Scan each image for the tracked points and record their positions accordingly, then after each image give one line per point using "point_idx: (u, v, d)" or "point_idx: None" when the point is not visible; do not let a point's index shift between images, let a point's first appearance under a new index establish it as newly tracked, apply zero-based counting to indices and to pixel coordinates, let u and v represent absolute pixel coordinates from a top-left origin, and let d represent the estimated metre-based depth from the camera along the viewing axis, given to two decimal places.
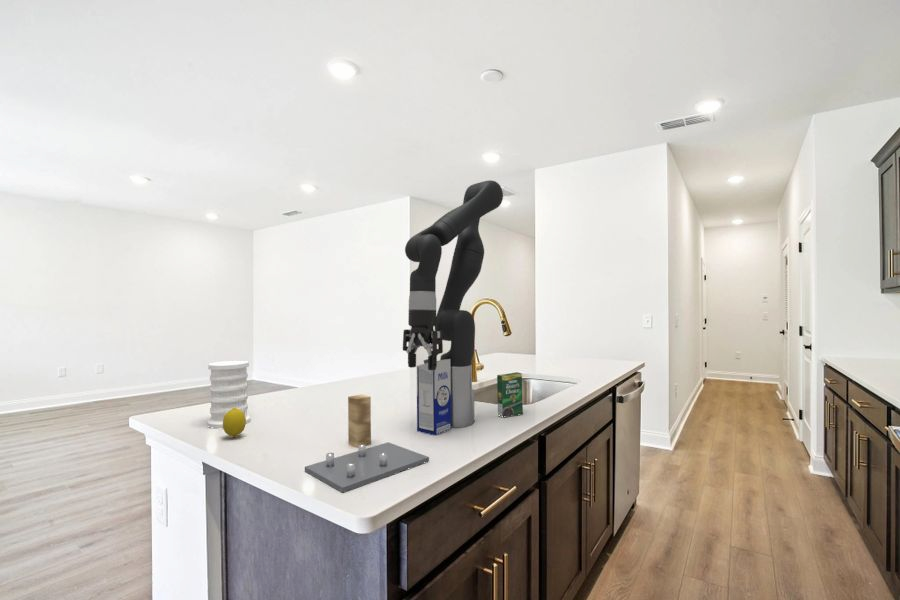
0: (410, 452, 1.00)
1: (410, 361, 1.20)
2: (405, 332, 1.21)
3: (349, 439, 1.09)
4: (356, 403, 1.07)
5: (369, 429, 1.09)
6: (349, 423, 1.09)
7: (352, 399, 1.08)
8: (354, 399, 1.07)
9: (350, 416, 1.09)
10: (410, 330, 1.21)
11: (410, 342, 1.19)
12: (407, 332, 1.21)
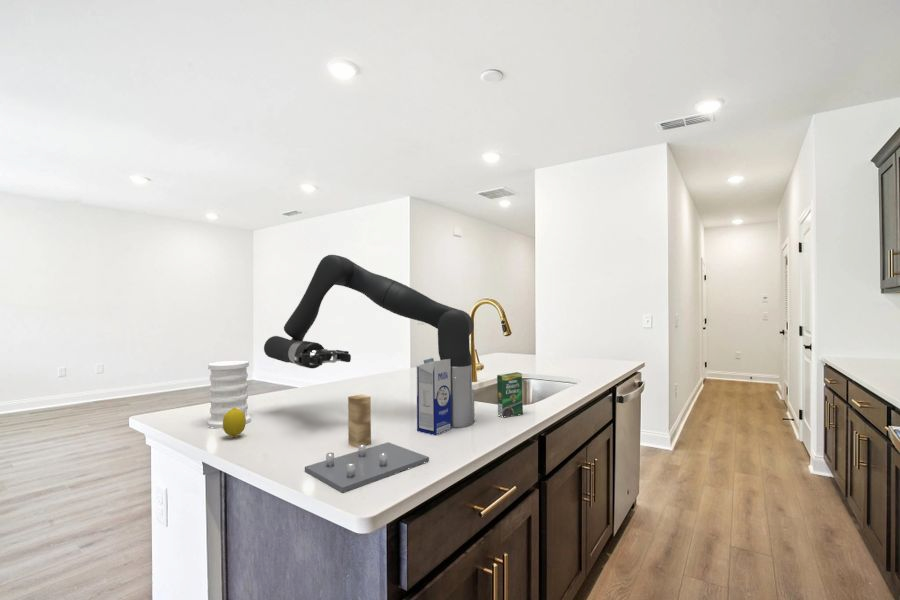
0: (410, 452, 1.00)
1: (345, 360, 1.21)
2: None
3: (349, 439, 1.09)
4: (356, 403, 1.07)
5: (369, 429, 1.09)
6: (349, 423, 1.09)
7: (352, 399, 1.08)
8: (354, 399, 1.07)
9: (350, 416, 1.09)
10: (331, 356, 1.27)
11: None
12: None
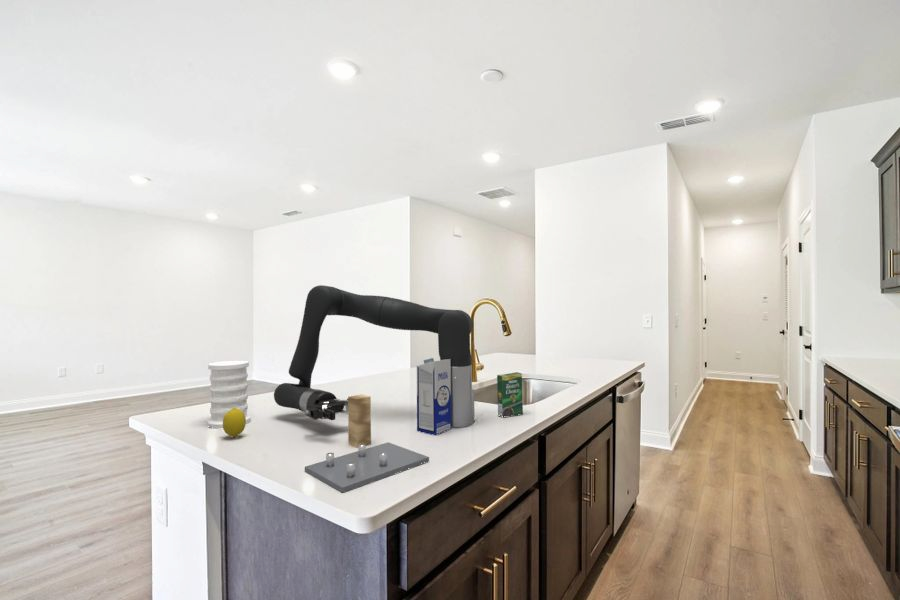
0: (410, 452, 1.00)
1: None
2: None
3: (349, 439, 1.09)
4: (356, 403, 1.07)
5: (369, 429, 1.09)
6: (349, 423, 1.09)
7: (352, 399, 1.08)
8: (354, 399, 1.07)
9: (350, 416, 1.09)
10: (343, 405, 1.23)
11: None
12: None
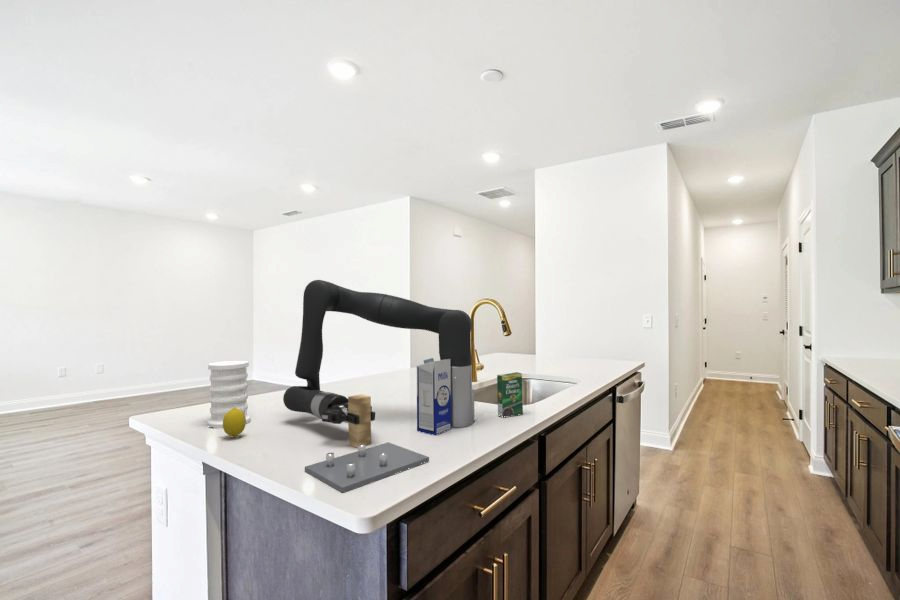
0: (410, 452, 1.00)
1: None
2: None
3: (349, 439, 1.09)
4: (356, 403, 1.07)
5: (369, 429, 1.09)
6: (349, 423, 1.09)
7: (352, 399, 1.08)
8: (354, 399, 1.07)
9: None
10: None
11: None
12: None
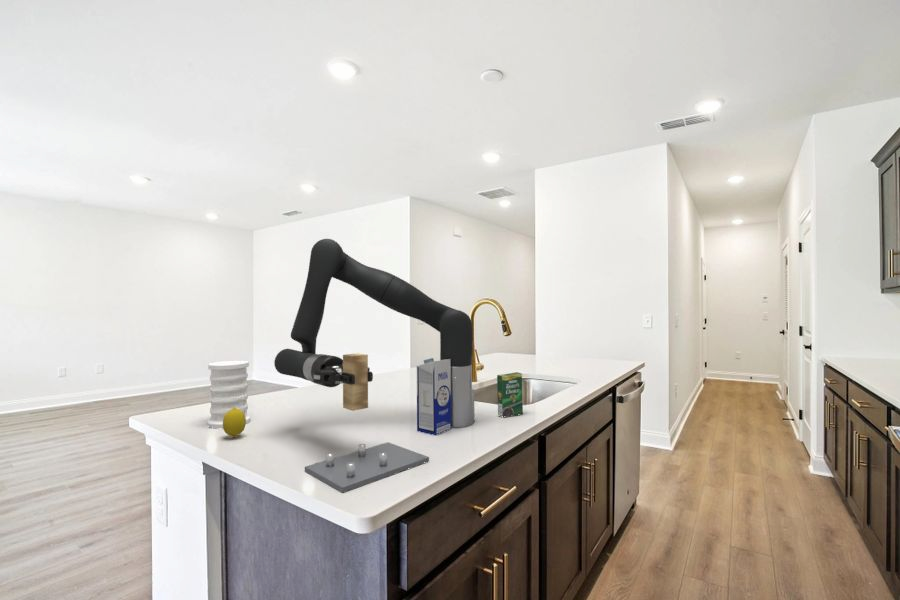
0: (410, 452, 1.00)
1: None
2: None
3: (344, 402, 0.98)
4: (351, 361, 0.96)
5: (366, 391, 0.98)
6: (344, 384, 0.98)
7: (347, 357, 0.97)
8: (349, 357, 0.96)
9: None
10: None
11: None
12: None
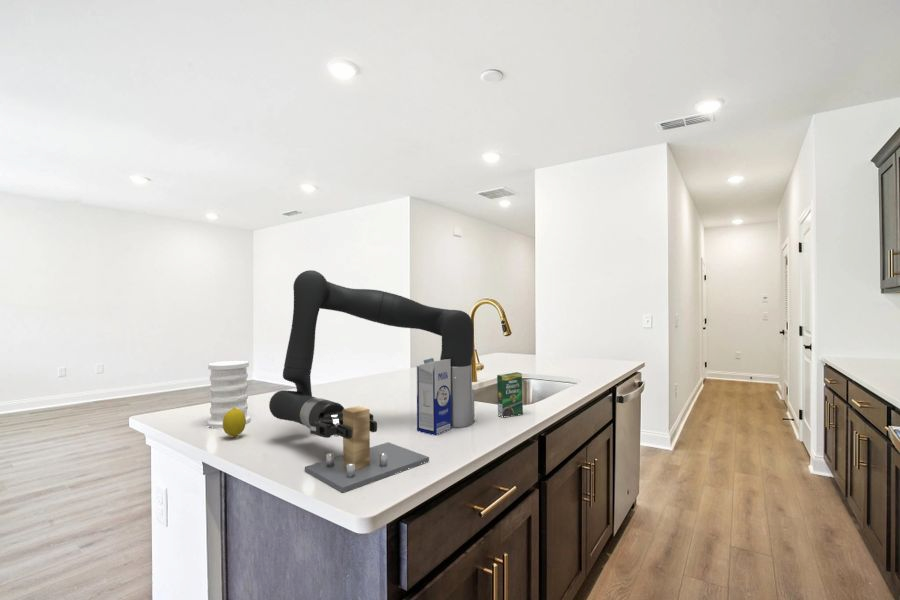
0: (410, 452, 1.00)
1: None
2: None
3: (344, 459, 0.92)
4: (352, 417, 0.90)
5: (368, 448, 0.92)
6: (344, 440, 0.92)
7: (347, 412, 0.91)
8: (350, 412, 0.90)
9: None
10: None
11: None
12: None
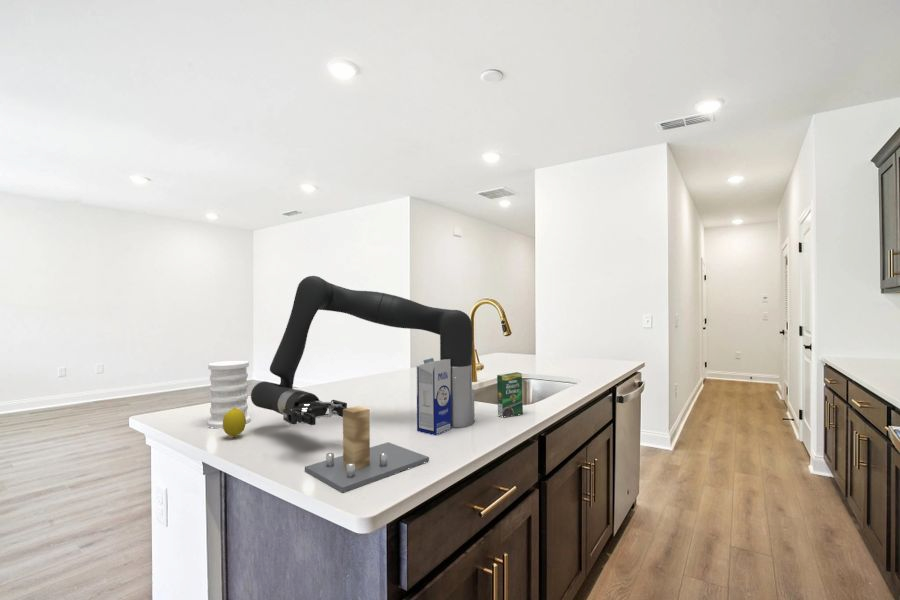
0: (410, 452, 1.00)
1: (342, 415, 1.04)
2: None
3: (344, 459, 0.92)
4: (352, 417, 0.90)
5: (368, 448, 0.92)
6: (344, 440, 0.92)
7: (347, 412, 0.91)
8: (350, 412, 0.90)
9: (345, 432, 0.92)
10: None
11: None
12: None
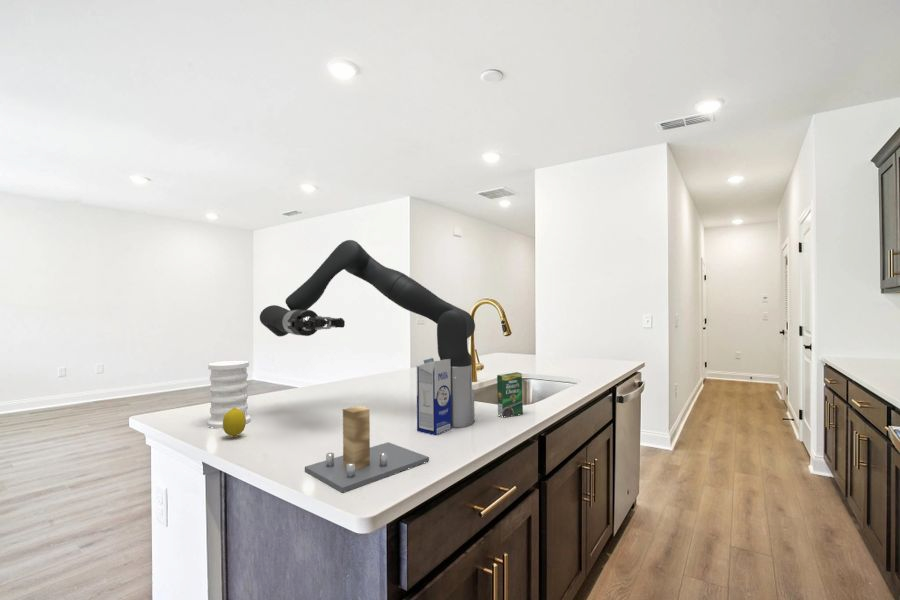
0: (410, 452, 1.00)
1: (338, 326, 1.20)
2: None
3: (344, 459, 0.92)
4: (352, 417, 0.90)
5: (368, 448, 0.92)
6: (344, 440, 0.92)
7: (347, 412, 0.91)
8: (350, 412, 0.90)
9: (345, 432, 0.92)
10: (325, 323, 1.26)
11: None
12: None
